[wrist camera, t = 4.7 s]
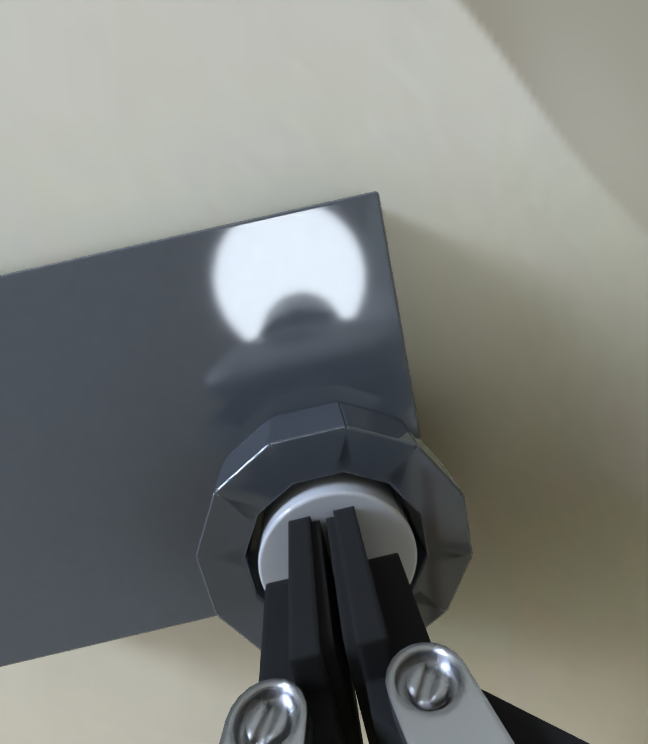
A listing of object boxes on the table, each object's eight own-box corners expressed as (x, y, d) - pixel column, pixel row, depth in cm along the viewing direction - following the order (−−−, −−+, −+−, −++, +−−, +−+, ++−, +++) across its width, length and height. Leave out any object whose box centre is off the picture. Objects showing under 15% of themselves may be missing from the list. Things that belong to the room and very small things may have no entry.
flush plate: (379, 196, 13) (416, 174, 9) (439, 542, 16) (485, 631, 13) (-113, 306, 13) (-282, 330, 9) (45, 634, 16) (-32, 754, 12)
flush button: (388, 444, 12) (404, 475, 11) (412, 565, 14) (429, 610, 12) (245, 478, 12) (239, 514, 11) (280, 596, 13) (279, 646, 12)
